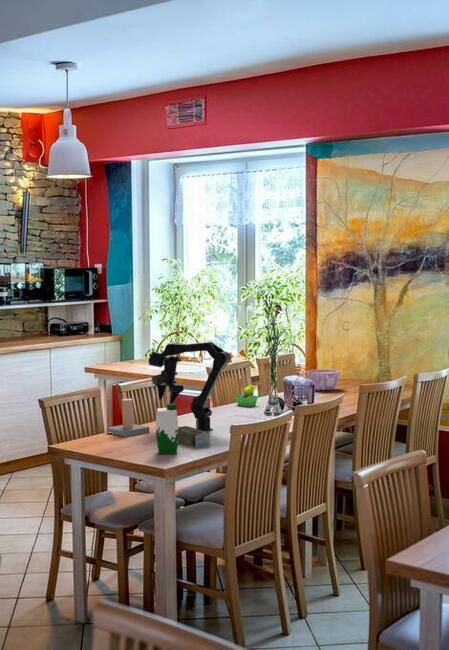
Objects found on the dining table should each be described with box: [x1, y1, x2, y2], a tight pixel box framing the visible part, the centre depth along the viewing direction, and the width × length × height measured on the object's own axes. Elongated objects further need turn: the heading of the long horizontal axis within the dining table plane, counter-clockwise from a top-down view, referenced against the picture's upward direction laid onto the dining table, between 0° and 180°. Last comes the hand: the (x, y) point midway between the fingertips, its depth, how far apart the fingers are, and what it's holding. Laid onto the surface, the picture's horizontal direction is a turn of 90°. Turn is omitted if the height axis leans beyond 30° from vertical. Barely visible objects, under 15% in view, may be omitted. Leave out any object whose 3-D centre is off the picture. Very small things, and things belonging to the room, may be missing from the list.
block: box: [121, 398, 134, 428], centre depth 408 cm, size 4×4×13 cm
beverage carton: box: [178, 425, 211, 449], centre depth 381 cm, size 8×19×7 cm, turn 35°
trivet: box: [106, 423, 151, 438], centre depth 409 cm, size 14×14×2 cm
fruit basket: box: [234, 384, 259, 407], centre depth 480 cm, size 11×9×11 cm
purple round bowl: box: [306, 368, 341, 391], centre depth 531 cm, size 20×20×12 cm
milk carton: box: [155, 402, 179, 455], centre depth 363 cm, size 9×9×20 cm
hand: (165, 401), depth 417 cm, fingers open, 9 cm apart
